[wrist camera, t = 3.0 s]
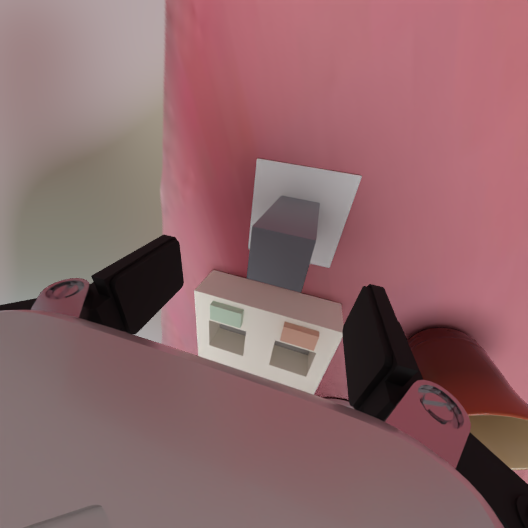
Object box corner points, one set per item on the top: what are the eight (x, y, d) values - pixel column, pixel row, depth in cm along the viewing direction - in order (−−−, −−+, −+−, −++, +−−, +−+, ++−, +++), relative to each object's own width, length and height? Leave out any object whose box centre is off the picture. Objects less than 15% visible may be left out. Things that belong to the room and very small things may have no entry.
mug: (490, 318, 22) (594, 425, 14) (472, 370, 26) (546, 480, 17) (368, 317, 26) (390, 400, 18) (369, 362, 30) (386, 449, 21)
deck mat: (360, 175, 19) (362, 176, 18) (329, 265, 24) (329, 268, 24) (258, 158, 20) (256, 158, 20) (249, 246, 26) (248, 248, 25)
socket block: (341, 303, 26) (344, 339, 21) (313, 366, 33) (311, 404, 29) (213, 269, 29) (190, 294, 24) (213, 334, 36) (195, 363, 31)
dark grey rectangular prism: (319, 202, 20) (316, 240, 12) (310, 239, 23) (301, 292, 14) (281, 195, 21) (252, 226, 13) (275, 231, 23) (246, 278, 15)
